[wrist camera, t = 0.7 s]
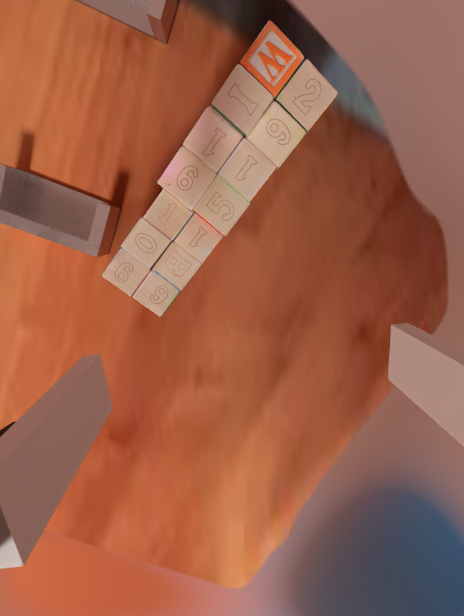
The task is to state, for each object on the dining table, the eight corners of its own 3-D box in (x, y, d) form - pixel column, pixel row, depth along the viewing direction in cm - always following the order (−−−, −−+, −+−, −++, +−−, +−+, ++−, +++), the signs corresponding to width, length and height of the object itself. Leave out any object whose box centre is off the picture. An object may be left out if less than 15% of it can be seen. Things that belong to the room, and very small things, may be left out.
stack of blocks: (173, 295, 35) (152, 330, 23) (128, 261, 34) (82, 281, 22) (293, 141, 31) (341, 91, 19) (249, 97, 30) (271, 13, 18)
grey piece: (7, 217, 32) (-17, 216, 28) (16, 167, 30) (-8, 160, 27) (108, 253, 33) (96, 257, 30) (121, 208, 32) (110, 206, 29)
